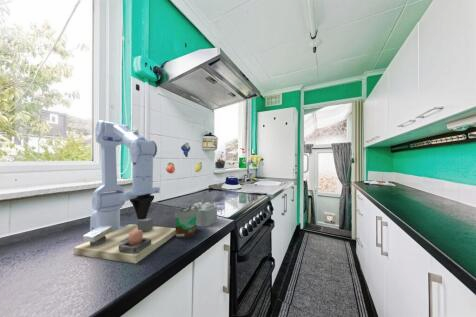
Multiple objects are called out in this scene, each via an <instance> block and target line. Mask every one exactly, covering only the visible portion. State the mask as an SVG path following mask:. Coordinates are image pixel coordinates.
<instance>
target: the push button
mask: <svg viewBox="0 0 476 317" xmlns="http://www.w3.org/2000/svg"><path fill="white" fill-rule="evenodd" d="M142 240H143V231H142V230H135V231H132V232H130V233H129V245H137V244H140V243H141V242H142Z"/></svg>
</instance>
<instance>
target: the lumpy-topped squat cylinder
mask: <svg viewBox="0 0 476 317" xmlns="http://www.w3.org/2000/svg"><path fill="white" fill-rule="evenodd" d="M193 205H196V206H197V207H198V209H199V213H198V214H197V221H196V225H197V226H198V227H201V226H207V227H210V226H212V225H213V223H214V224H216V223H217V222H218V206H217V205H215V204H213V203H211V202H210V201H207V202H204V203H203V202H202V201H200V202H195V203H193ZM216 221H217V222H216ZM215 222H216V223H215ZM211 224H212V225H211ZM197 226H196V227H197Z"/></svg>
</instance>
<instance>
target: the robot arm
mask: <svg viewBox="0 0 476 317" xmlns="http://www.w3.org/2000/svg"><path fill="white" fill-rule="evenodd" d="M129 127H130V126H129V125H128V124H122V123H117V122H111V121H106V120H101V119H99V121H97V122H96V126H95V130H94V131H95V134H94V135H95V142H96V143H98V144H100V151H101V154H100V155H101V156H100V158H101V185H100V186H99V187H97V188H96V189H95V190H94V191H93V192H92V199H91V206H92V209H93V211H92V212H91V215H90V217H89V218H90V221H89V231H88V232H87V233H89V232H91V231H93V230H95V229H97V228H98V227H100V226H102V225H103V226H112V230H113V231H114V230H117V229H119V228H121V227H122V226H121V225H120V224H121V222H120V220H121V208H123V206H124V205H125V203H126V202H129V201H130V203H131V204H132V206H133V208H134V210H135V211H134V212H135V214H136V218H137V220H140V219H141V220H143V219H146V218H148V213H149V209H150V206H151V204H152V202H153V201H154V199H155V195H154V194H159V193H160V190H161V189H160V187H157V186H155V187H154V186H153V184H154V183H153V182H154V179H153V178H154V177H153V173H154V172H153V170H154V158H155V156H157V152H158V145H157V143H156V142H155V140H147V139H146V138H145V137H144V136H142V135H141V134H140V133H139V132H138V131H137V130H136V131H135V130H132V131H131V130H130V128H129ZM121 145H125V146H126V147H127V148H128V149H129V150H128V151H129V155H130V161H131V163H132V184H131V188H132V190H129V191H127V192H125V188H124V187H123V186H121V185H119V184H118V172H117V169H118V168H117V147H118V146H121Z"/></svg>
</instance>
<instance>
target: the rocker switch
mask: <svg viewBox="0 0 476 317" xmlns="http://www.w3.org/2000/svg"><path fill="white" fill-rule="evenodd" d="M112 231H113V230H112V226H103V225H102V226H100V227H98V228H97V229H95V230H93V231H91V232H90V231H88V232H89V233H88V232H87V233H85V234H83V235H82V239H83V241H85V242H88V241H90V242H95V241H97V240H98V239H100V238H102V237H103V236H105V235H107V234H108V233H110V232H112Z"/></svg>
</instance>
